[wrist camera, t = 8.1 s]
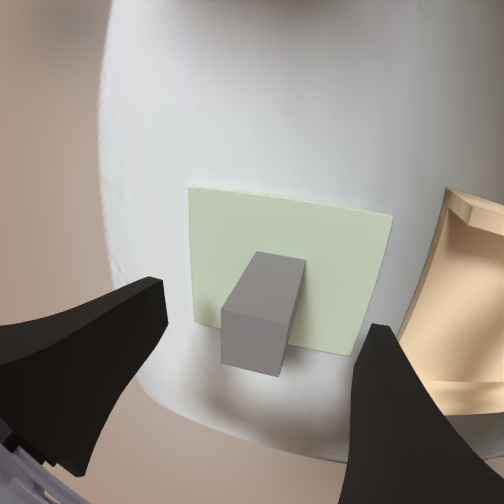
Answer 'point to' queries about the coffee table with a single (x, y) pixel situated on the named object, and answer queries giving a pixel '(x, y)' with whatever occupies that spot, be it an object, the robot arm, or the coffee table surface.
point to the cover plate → (287, 233)
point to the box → (461, 309)
